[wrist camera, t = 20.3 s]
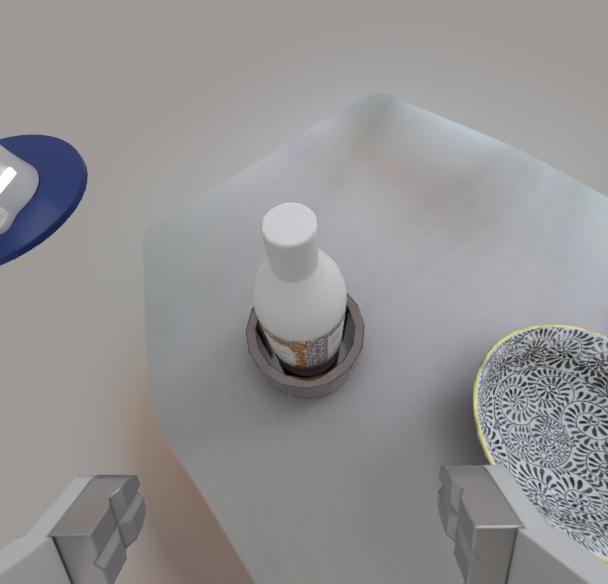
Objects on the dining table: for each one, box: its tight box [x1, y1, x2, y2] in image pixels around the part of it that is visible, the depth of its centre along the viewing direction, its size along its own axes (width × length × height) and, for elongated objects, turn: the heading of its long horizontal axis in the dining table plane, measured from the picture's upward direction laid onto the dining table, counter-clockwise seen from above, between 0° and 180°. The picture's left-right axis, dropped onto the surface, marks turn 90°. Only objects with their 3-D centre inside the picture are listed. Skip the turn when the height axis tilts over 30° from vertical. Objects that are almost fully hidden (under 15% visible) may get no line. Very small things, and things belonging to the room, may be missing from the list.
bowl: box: [473, 324, 608, 563], centre depth 26 cm, size 16×16×8 cm
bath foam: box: [253, 203, 347, 376], centre depth 25 cm, size 7×7×20 cm
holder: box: [246, 294, 364, 399], centre depth 32 cm, size 11×11×6 cm
